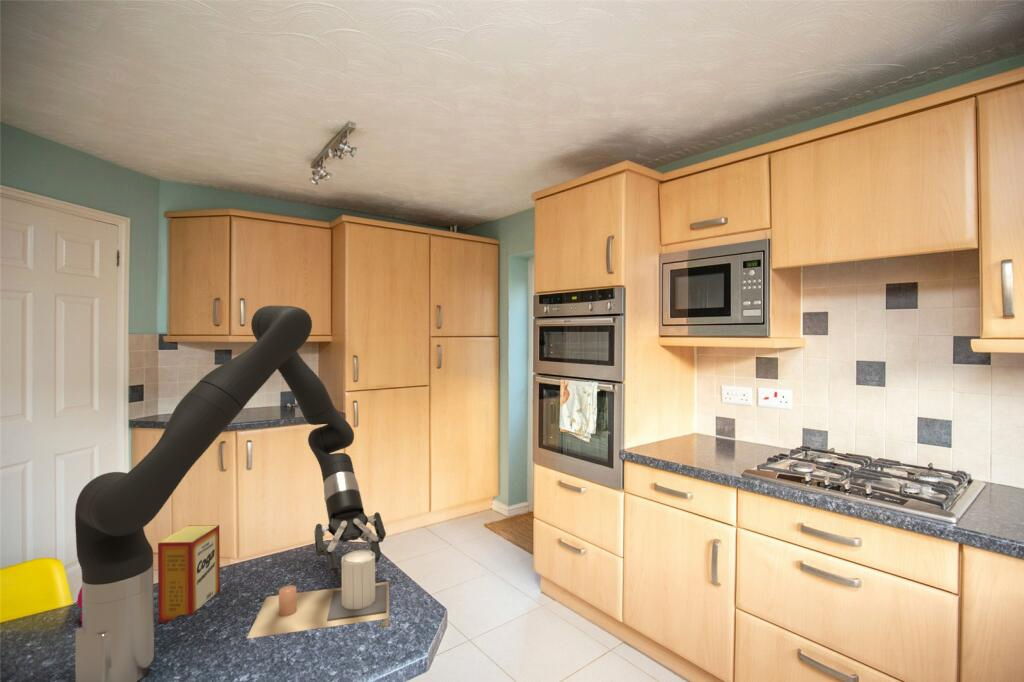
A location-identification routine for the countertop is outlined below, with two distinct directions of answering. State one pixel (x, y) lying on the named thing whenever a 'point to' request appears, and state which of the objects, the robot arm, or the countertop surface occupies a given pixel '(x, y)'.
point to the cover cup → (358, 579)
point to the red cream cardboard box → (188, 570)
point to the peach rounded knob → (287, 600)
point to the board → (319, 612)
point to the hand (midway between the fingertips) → (356, 566)
